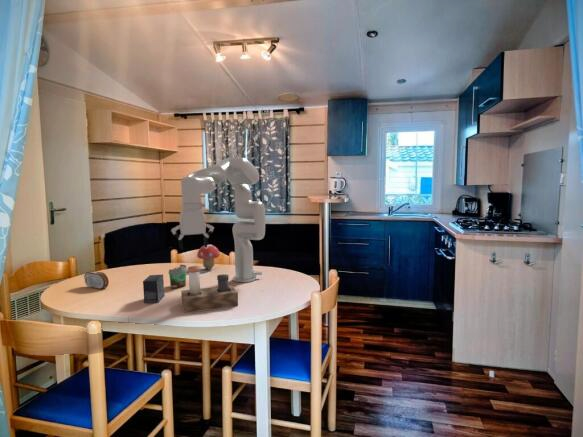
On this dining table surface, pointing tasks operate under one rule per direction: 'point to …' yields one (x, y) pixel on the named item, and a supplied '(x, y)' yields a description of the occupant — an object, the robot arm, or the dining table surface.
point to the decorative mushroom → (208, 255)
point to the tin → (96, 280)
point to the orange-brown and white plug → (194, 280)
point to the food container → (178, 277)
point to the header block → (209, 299)
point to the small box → (153, 289)
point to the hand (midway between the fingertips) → (194, 247)
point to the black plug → (222, 282)
